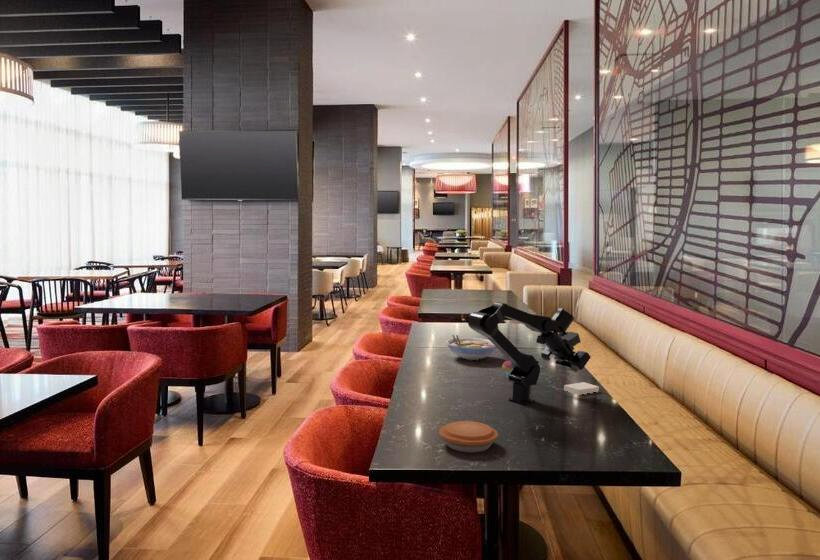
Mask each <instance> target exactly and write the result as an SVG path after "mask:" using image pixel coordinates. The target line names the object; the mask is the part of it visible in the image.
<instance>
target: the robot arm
mask: <svg viewBox="0 0 820 560" xmlns="http://www.w3.org/2000/svg"><path fill="white" fill-rule="evenodd" d="M504 318H507V319H510V320H512V321H515V322H518V323H520V324H523V325H524V326H525V327H526V328H527V329H529V330H530V331H531V332H535V333H540V334H539V335H537V338H536V340H535V341H536V344H540V345H542V346H543V345H546V346H545V347H544V349H543V350H542V351H541V355H540V356H541V358H542V359H543V360H544V361H548V362H550V360H551V357H550V356H551V355H553V356H552V358H553V360H555V363H554V364H555V365H559V366H561V367H563V368H566V369H568V370H570V371H572V372H574V373H577V372H578V371H581V370H584V368H585V367H586V365H587V363H588V362H589V361H590V360H591V358H592V357H591V355H590V353H589V352H587V351H584V350H583V351H582V350H577V351H574V350H575V346H576V345H578V344H580V343H581V339H580V335H579V333H578V332H576V331H575V332H574V331H567V330H568V329H569V328H570V326H571V324H572V323H573V322H574V321H575V317H574V315H572V314H571V313H569V312H568V311H566V310H565V309H564V308H561V307H558V308H557V310H556V311H555V314H553V316H552V318H551V317H550V316H546V315H539V314H533V313H529V312H527V311H524V310H522V309H518V308H516V307H514V306H511V305H508V304H507V303H505V302H504V303H503V302H499V301H495V302H494V303H492V304H491V305H489V306H486V307H484V308H481V309H479V310H477V311H473V312H471V314H470V315H469V316H468V320H467V321H468V322H467V324H468V327H469V328H470V329H471V330H473V331H475V332H476V333H478V334H479V335H481V336H483V337H486V339H488V340H490V341H491V342H492V343H493V344H494V345H495V346H496V349H497V350H499V352H500V353H502V355H503V356H504V357H506V359H507V360H510V361H511V365H512V368H513V369H512V370H511V371H510V373H509V374H508V378H509V379H508V378H507V379H508V380H509V381H510V382H513V383H512V397H509V398H508V401H511V402H515V403H518V404H522V405H525V404H526V405H527V404H529V403H532V402H535V401H536V399H535V398H533V397H532V389H533V388H532V386H536V385H537V383H538V380H539V376H540V374H541V366H540V362H539V361H538V360H537V359H536V358H535V357H534V356H533V355H532V354H529V353H525V352H522V351H521V350H520V349H519V348H517V347H516V346H515V345H514V344H513V343H512V342H511V341H510V339H509V338H507V337H506V336H505V335H504V334H503V332H501V330H500V328H499V324H500V323H501V322H502V320H503V319H504ZM519 350H520V351H519Z"/></svg>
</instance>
